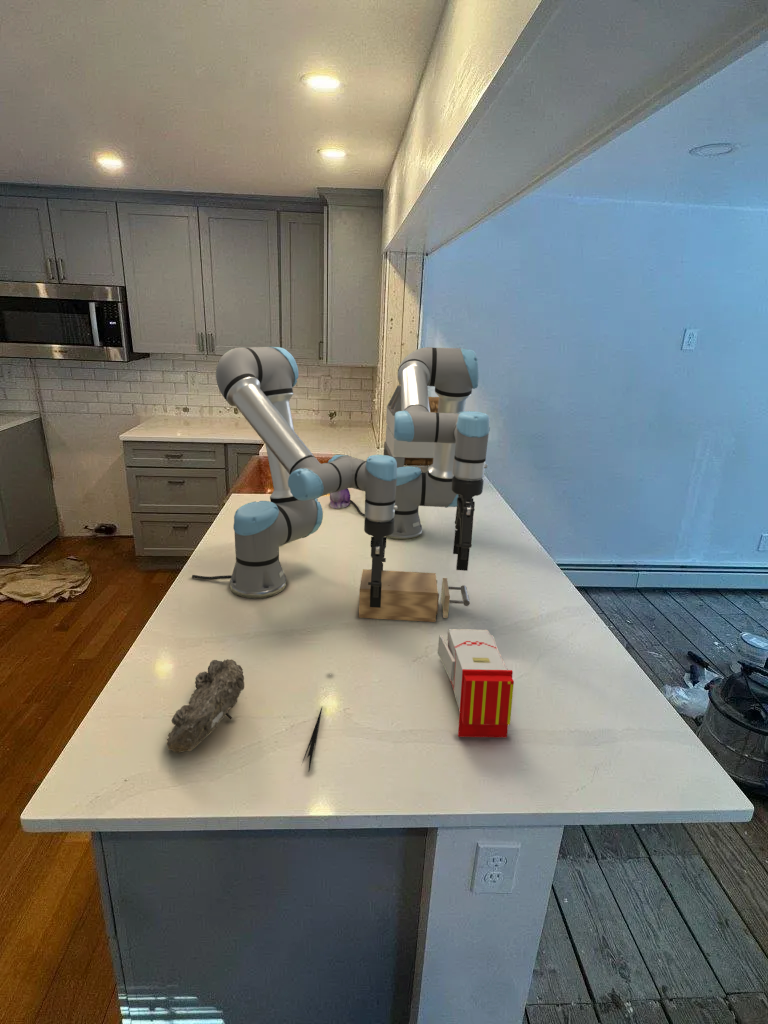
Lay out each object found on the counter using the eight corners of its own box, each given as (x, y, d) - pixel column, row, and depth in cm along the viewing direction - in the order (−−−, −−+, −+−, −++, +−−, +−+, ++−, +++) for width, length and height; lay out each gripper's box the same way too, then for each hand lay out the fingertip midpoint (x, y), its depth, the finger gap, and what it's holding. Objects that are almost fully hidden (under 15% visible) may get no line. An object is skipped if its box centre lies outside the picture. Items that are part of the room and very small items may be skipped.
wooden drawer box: (433, 600, 155) (435, 573, 152) (435, 622, 145) (438, 592, 142) (361, 596, 155) (362, 569, 153) (358, 617, 145) (359, 588, 142)
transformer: (382, 463, 289) (386, 382, 275) (445, 464, 293) (451, 384, 279) (390, 482, 257) (394, 392, 243) (460, 483, 261) (468, 394, 247)
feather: (331, 679, 122) (336, 673, 122) (307, 777, 96) (313, 769, 95) (324, 675, 122) (329, 669, 121) (298, 772, 95) (304, 764, 95)
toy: (488, 613, 130) (523, 677, 101) (484, 667, 133) (517, 744, 104) (435, 612, 130) (455, 676, 101) (432, 666, 133) (451, 743, 103)
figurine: (333, 510, 219) (334, 473, 214) (323, 502, 227) (324, 466, 222) (355, 507, 223) (356, 471, 218) (345, 500, 232) (346, 464, 227)
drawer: (464, 600, 154) (466, 579, 152) (468, 619, 145) (471, 597, 142) (377, 595, 154) (378, 574, 152) (376, 614, 145) (377, 591, 143)
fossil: (192, 660, 117) (244, 628, 112) (224, 691, 120) (276, 661, 115) (142, 746, 98) (202, 712, 93) (182, 779, 101) (242, 748, 96)
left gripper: (393, 536, 130) (389, 619, 138) (395, 503, 153) (391, 576, 160) (361, 534, 130) (358, 617, 138) (367, 501, 153) (364, 574, 160)
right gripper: (490, 491, 127) (480, 581, 135) (478, 465, 147) (470, 545, 155) (456, 489, 127) (448, 579, 135) (449, 464, 147) (442, 544, 155)
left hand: (376, 595), depth 149 cm, fingers closed on wooden drawer box, 11 cm apart
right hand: (460, 561), depth 145 cm, fingers open, 9 cm apart
